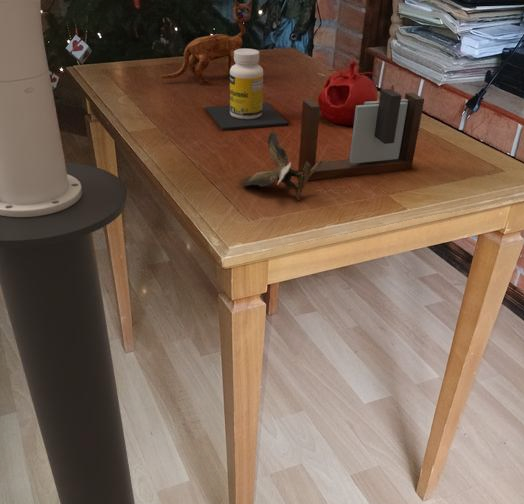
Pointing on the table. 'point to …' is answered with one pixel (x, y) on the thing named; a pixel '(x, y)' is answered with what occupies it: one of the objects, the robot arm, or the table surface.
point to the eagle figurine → (282, 169)
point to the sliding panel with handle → (378, 129)
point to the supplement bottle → (246, 85)
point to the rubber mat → (229, 122)
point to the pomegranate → (345, 94)
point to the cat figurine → (214, 46)
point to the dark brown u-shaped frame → (344, 166)
